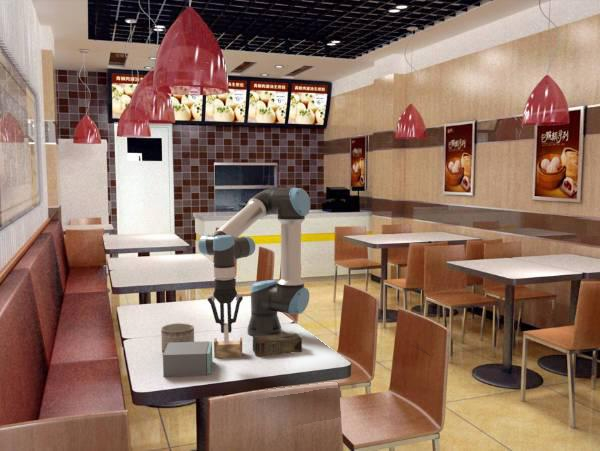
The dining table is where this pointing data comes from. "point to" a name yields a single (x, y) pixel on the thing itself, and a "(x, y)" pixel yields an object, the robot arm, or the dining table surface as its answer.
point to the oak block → (227, 348)
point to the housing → (185, 359)
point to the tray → (209, 358)
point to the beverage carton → (277, 344)
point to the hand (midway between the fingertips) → (226, 341)
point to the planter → (176, 334)
